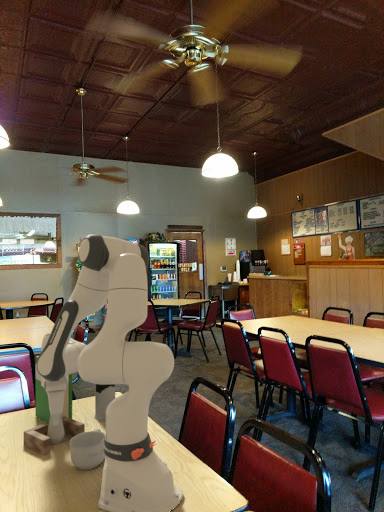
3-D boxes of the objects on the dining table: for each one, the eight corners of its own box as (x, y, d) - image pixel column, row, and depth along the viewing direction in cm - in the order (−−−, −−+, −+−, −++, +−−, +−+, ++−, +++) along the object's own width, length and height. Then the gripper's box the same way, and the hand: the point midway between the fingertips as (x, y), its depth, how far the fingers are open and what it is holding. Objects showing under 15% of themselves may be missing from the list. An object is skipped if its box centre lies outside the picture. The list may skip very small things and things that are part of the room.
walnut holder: (84, 436, 131) (84, 423, 132) (43, 455, 119) (43, 440, 119) (64, 428, 139) (64, 416, 139) (23, 445, 126) (23, 431, 126)
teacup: (93, 476, 106) (93, 448, 106) (61, 470, 109) (61, 443, 109) (118, 453, 119) (118, 428, 119) (89, 449, 122) (89, 424, 123)
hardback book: (72, 423, 144) (71, 360, 144) (53, 428, 138) (53, 363, 139) (53, 410, 156) (53, 353, 157) (35, 415, 151) (35, 356, 152)
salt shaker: (64, 443, 126) (64, 404, 127) (46, 446, 125) (46, 407, 125) (64, 436, 132) (64, 399, 132) (47, 439, 130) (47, 401, 131)
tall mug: (101, 422, 144) (100, 383, 144) (84, 412, 154) (83, 375, 155) (120, 416, 149) (120, 378, 150) (103, 407, 160) (102, 371, 160)
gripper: (44, 372, 137) (44, 410, 137) (46, 388, 118) (46, 432, 118) (62, 370, 140) (62, 408, 139) (66, 385, 121) (67, 428, 120)
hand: (54, 419), depth 128 cm, fingers open, 8 cm apart
